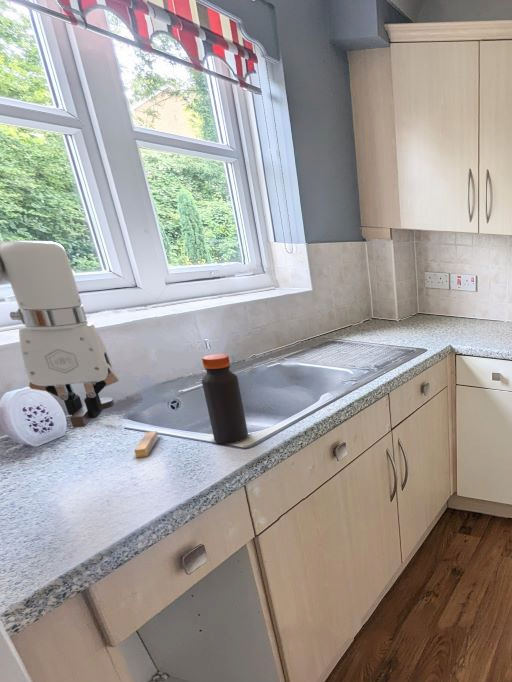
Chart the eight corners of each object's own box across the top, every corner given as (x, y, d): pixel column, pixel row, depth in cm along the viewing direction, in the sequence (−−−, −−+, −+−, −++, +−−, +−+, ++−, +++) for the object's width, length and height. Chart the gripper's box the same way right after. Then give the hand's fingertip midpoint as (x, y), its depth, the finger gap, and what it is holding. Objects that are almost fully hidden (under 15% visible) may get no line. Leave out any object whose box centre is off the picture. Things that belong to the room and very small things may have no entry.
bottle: (237, 430, 111) (222, 351, 104) (254, 436, 108) (240, 356, 102) (208, 440, 106) (189, 357, 99) (225, 447, 103) (208, 362, 96)
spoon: (95, 425, 81) (92, 415, 80) (62, 429, 79) (58, 418, 78) (117, 401, 91) (114, 392, 91) (88, 404, 90) (85, 394, 89)
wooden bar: (147, 456, 97) (145, 448, 97) (136, 457, 96) (134, 450, 96) (158, 437, 106) (156, 430, 105) (148, 439, 105) (146, 432, 104)
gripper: (-23, 323, 70) (19, 431, 77) (108, 319, 77) (136, 418, 84) (2, 315, 77) (38, 415, 83) (121, 312, 84) (146, 404, 90)
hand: (87, 416), depth 83 cm, fingers closed on spoon, 1 cm apart
